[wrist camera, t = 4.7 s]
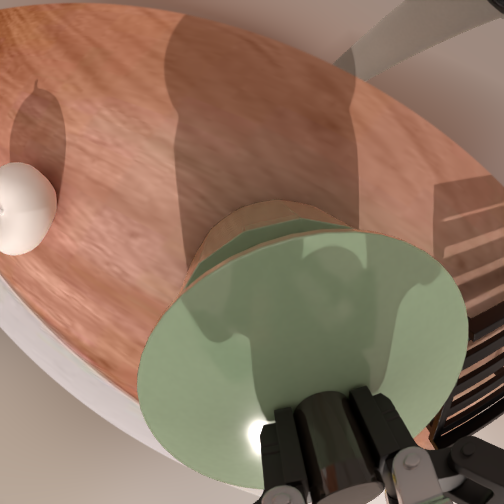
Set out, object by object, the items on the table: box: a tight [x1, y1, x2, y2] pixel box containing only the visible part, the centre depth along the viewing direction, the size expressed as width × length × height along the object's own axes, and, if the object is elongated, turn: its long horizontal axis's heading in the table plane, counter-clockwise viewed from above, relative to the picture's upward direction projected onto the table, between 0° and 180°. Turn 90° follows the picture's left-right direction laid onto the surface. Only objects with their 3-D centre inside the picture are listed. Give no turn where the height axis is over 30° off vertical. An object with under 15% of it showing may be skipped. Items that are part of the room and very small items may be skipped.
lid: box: [137, 229, 468, 504], centre depth 9 cm, size 15×15×6 cm
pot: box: [178, 199, 354, 295], centre depth 20 cm, size 14×14×8 cm
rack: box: [426, 301, 504, 450], centre depth 24 cm, size 18×16×8 cm
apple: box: [0, 162, 57, 255], centre depth 17 cm, size 7×7×8 cm
